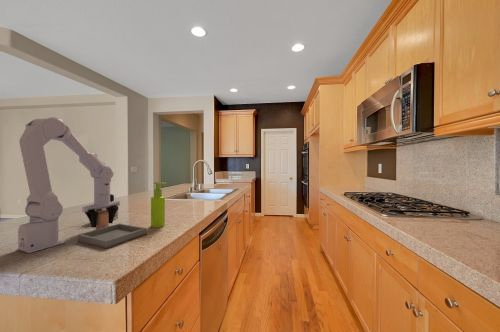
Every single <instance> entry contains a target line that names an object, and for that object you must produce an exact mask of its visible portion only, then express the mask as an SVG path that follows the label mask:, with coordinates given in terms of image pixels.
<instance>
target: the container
mask: <svg viewBox="0 0 500 332" xmlns="http://www.w3.org/2000/svg"><path fill="white" fill-rule="evenodd" d="M114 201H115V195H114V194H112V193H110V202H114ZM117 207H118V208H119V206H117ZM99 208H100V207H99ZM101 210H106V208H102V209H97V210H95V211H101ZM116 219H117V220H118V219H119V209H118V210H117V212H116V214H115V216H114V219H113V221H114V220H116Z"/></svg>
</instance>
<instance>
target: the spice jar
mask: <svg viewBox="0 0 500 332" xmlns="http://www.w3.org/2000/svg"><path fill="white" fill-rule="evenodd" d="M97 212H98V215H97V226H96V228H95V230H97V229H101V228H105V227H108V226H110V223H109V212H108V210H101V211H97Z"/></svg>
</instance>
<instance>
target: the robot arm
mask: <svg viewBox="0 0 500 332" xmlns="http://www.w3.org/2000/svg"><path fill="white" fill-rule="evenodd" d="M51 140H53V141H58V142H61V143H63V144H64V145H66V147H68V148H69V149H70V150H71V151H72V152H74V153H75V154H76V155H77V157H78V162H79V163H80V164H81V165H82V166H83V167H85V168H86V169H87V170H88V171H89V172H90V174H89V175H90V177H91V178H93V204H90V205H84V206H82V207H81V212H83V213H84V214H85V215H86V217H87V219H88V222H89V223H90V227H91V228H93V229H94V228H95V229H96V226H97V215H98V212H97V211H95V210H97V209H102V208H106V210H108V212H109V224H113V221H114V220H113V219H114V216H115V214H116V212H117V210H118V211H119V206H121V203H120V201H118V200H114V202H110V194H111V182H112V178H113V177H114V172H113V170H112V168H111V167H110V166H106V164H105V163H104V162H102V160H101V159H100V158H99V157H98V154H97V153H94V152H91V151H88V150H87V149H86V147H85V146H84V145H83V144H82V143H81V142H80V141H79V139H78V138H77V137H76V136H75V135H74V134H73V132H72V130H71V128H70V127H69V126H68V125H67V124H65V122H64V121H63V120H62V119H61V118H58V117H54V116H53V117H48V118H36V119H33V120H31V121H30V122H27V123H26V124H25V129H24V130H23V133H22V134H21V137H20V138H19V147H20V152H21V157H22V159H23V160H22V162H23V165H24V167H23V168H24V171H25V176H26V182H27V184H28V185H27V186H28V190H29V195H28V196H27V198H26V206H25V208H24V212H25V214H26V215H27V216H28V217H29V220H28V221H29V222H26V223H23V224H20V225H19V226H18V231H17V235H18V236H17V238H18V239H17V248H16V249H17V250H18V251H22V252H25V253H27V254H30V253H35V252H38V251H42V250H45V249H50V248H51V247H56V246H60V245H62V244H65V241H64V240H59V217H60V216H61V215H62V213H63V210H64V209H63V208H64V207H63V205H62V204H61V202H60V201H59V199H58V196H57V195H56V193H54V191H52V190H53V189H52V186H51V185H52V184H51V179H50V174H49V168H48V163H47V159H46V152H45V149H44V147H45V145H46V144H48V143H49V142H50V141H51ZM117 206H118V207H117ZM99 207H100V208H99Z"/></svg>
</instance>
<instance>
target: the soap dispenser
mask: <svg viewBox="0 0 500 332" xmlns="http://www.w3.org/2000/svg"><path fill="white" fill-rule="evenodd" d="M153 185H155V188H154V190H153V196H152V197H150V227H151V228H162V227H164V226H165V225H166V224H165V221H166V218H165V215H166V213H165V211H166V208H165V207H166V205H165V204H166V200H165V199H166V197H165V196H163V192H162V191H163V189H161V185H167V182H163V181H156V182H153Z"/></svg>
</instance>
